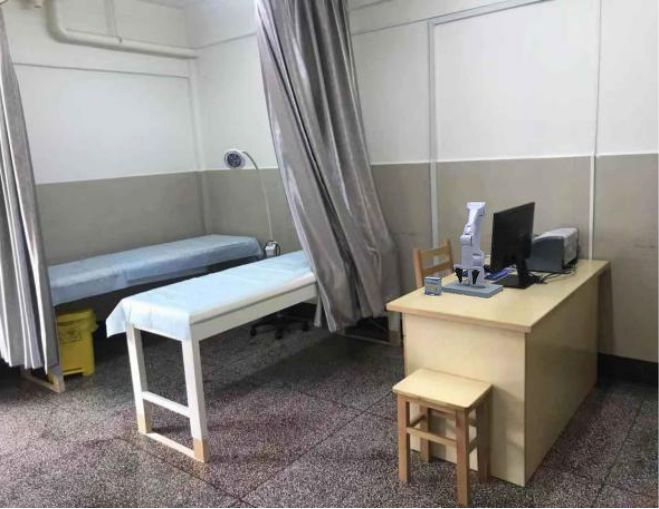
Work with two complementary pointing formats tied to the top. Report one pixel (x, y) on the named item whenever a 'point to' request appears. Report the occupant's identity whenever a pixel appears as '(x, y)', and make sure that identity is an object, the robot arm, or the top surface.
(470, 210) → the robot arm
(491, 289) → the deck
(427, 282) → the medicine box
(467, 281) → the ball
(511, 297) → the top surface
